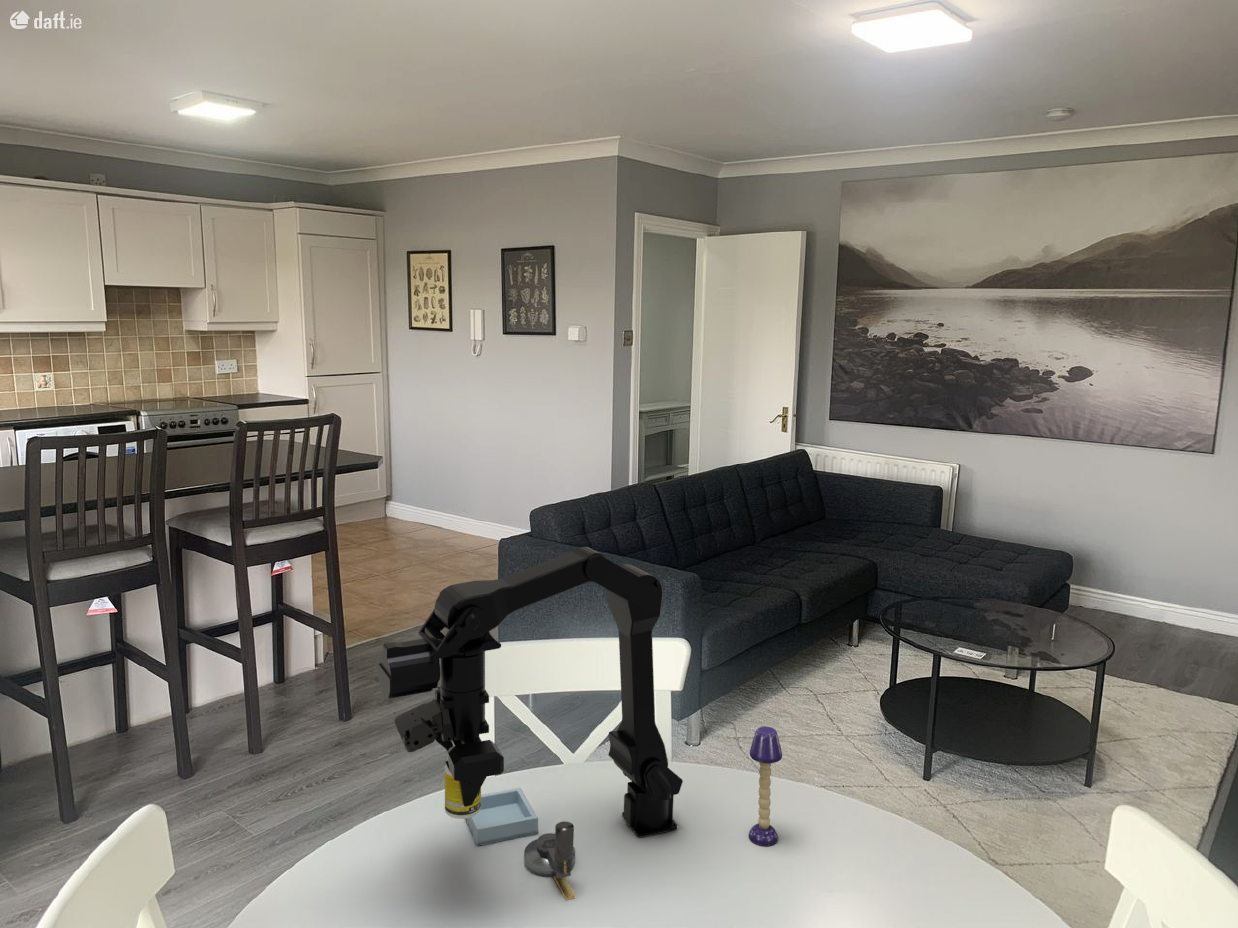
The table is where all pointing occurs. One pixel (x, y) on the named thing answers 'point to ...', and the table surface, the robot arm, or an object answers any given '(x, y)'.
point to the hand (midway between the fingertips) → (463, 795)
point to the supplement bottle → (458, 798)
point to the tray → (503, 817)
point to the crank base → (545, 868)
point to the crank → (558, 848)
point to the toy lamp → (765, 782)
